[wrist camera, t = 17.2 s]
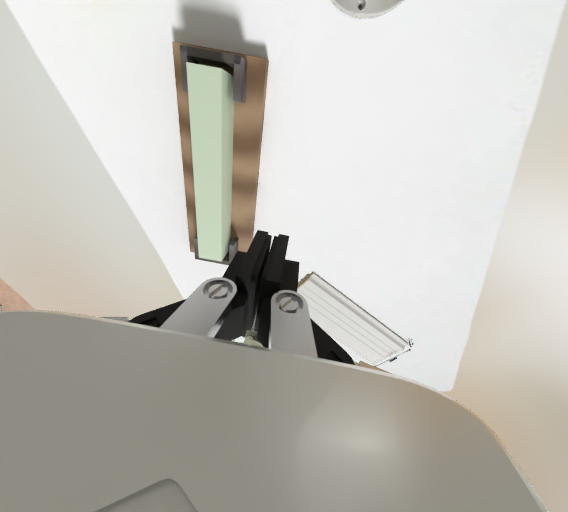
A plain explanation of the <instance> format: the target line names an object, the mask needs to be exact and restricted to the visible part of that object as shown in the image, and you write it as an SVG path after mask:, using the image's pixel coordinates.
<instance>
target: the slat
mask: <svg viewBox="0 0 568 512" xmlns="http://www.w3.org/2000/svg"><path fill="white" fill-rule="evenodd" d="M186 67H187V83H188V98H189V113H190V129H191V144H192V160H193V175H194V190H195V206H196V221H197V237H198V252H199V258H204V259H209V260H215V261H220V262H222V260H223V258H224V257H225V255H226V254H227V252H228V251H229V245H230V243H231V204H232V166H233V127H234V100H233V84H234V76H232V75H231V74H229V73H228V72H226V71H225V70H223V69H222V68H217V67H211V66H205V65H200V64H194V63H189V62H186Z"/></svg>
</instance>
